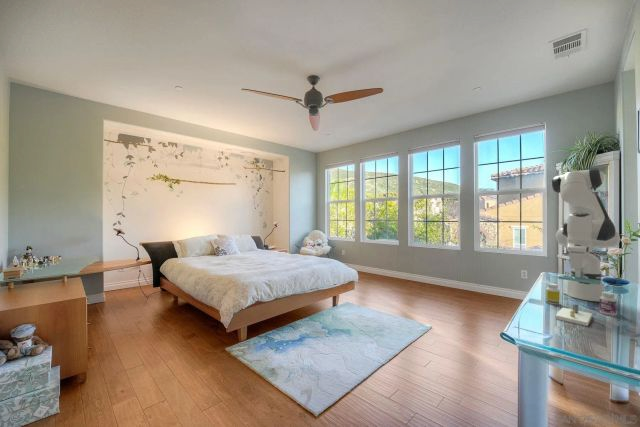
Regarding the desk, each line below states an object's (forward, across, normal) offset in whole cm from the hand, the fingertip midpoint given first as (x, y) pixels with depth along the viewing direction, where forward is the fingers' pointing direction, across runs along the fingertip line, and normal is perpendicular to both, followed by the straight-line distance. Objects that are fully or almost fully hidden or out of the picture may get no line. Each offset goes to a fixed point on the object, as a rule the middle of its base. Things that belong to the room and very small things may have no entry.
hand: (579, 275), depth 127 cm
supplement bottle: (+17, -6, -10) cm, 21 cm away
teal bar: (+2, 0, 0) cm, 2 cm away
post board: (+17, +13, 0) cm, 21 cm away
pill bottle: (+17, -7, +9) cm, 20 cm away
